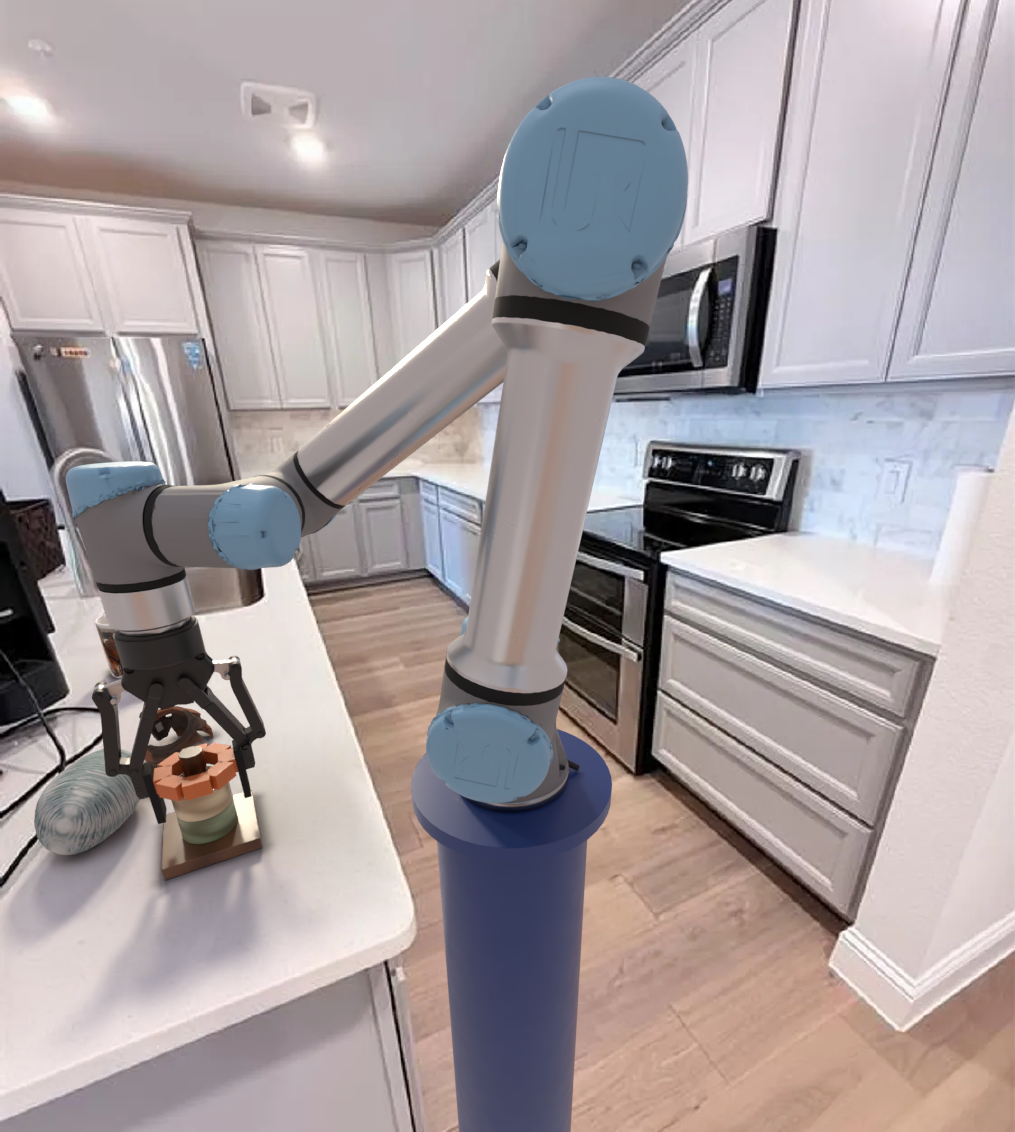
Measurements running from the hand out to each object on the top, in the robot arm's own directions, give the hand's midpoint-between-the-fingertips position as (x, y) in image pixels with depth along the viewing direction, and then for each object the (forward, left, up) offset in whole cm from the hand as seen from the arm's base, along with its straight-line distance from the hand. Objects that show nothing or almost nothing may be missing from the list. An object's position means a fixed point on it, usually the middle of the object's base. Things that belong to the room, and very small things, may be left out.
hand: (206, 802), depth 65 cm
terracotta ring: (0, 0, +4) cm, 4 cm away
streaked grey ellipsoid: (+12, -9, -5) cm, 16 cm away
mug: (+10, -58, -5) cm, 59 cm away
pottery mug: (+4, -23, -5) cm, 24 cm away
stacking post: (0, 0, -5) cm, 5 cm away
